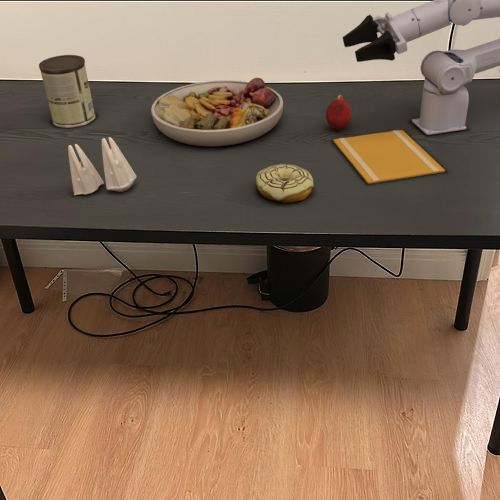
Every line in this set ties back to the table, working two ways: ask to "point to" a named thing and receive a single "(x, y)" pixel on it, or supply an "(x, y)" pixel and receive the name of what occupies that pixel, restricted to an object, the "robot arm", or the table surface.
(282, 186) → the decorated donut
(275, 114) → the bowl
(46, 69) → the coffee can
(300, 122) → the table surface
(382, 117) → the table surface
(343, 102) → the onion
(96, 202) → the table surface
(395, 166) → the towel
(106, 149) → the shaker set
